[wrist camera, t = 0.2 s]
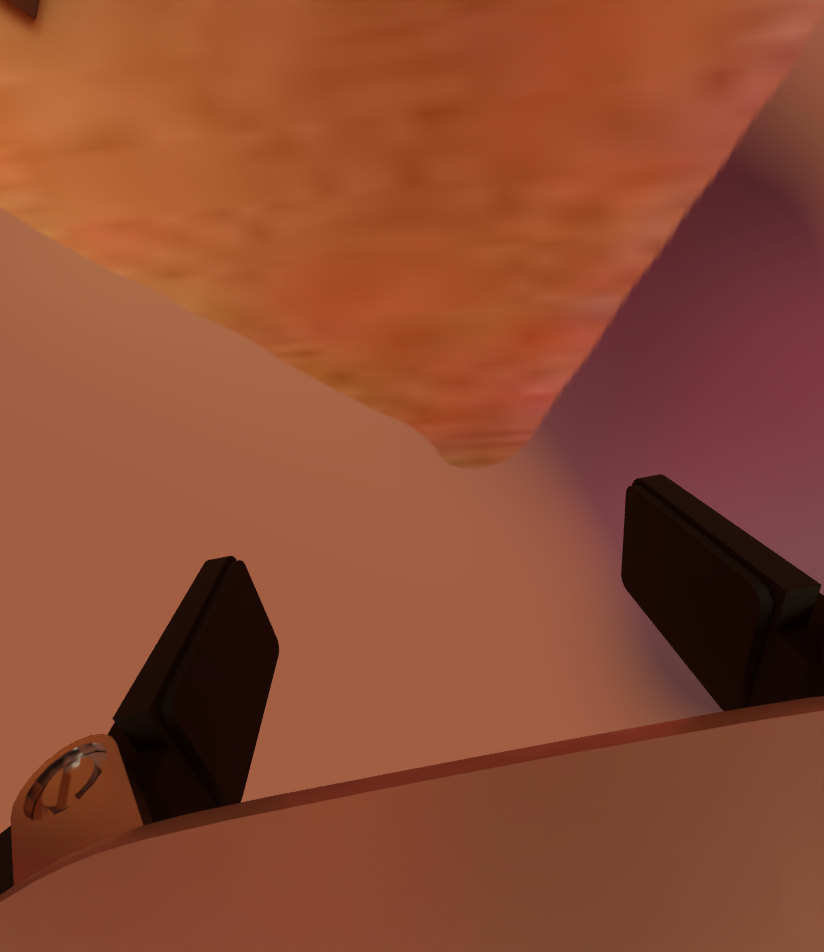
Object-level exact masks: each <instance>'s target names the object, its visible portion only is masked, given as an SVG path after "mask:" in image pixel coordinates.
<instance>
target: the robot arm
mask: <svg viewBox="0 0 824 952" xmlns="http://www.w3.org/2000/svg"><path fill="white" fill-rule="evenodd" d="M621 577H622V581H623V584H624V586H625V588H626V590H627V591H628V592H629V593H630V595H631V596H632V597H633V599H634V600H635V601H636V602H637V603H638V605H639V606H640V607H641V609H642V610H643V611H644V612H645V613H646V615H647V616H648V617H649V619H650V620H651V621H652V622H653V624H654V625H655V626H656V627H657V629H658V630H659V631H660V632H661V633H662V635H663V636H664V637H665V639H666V640H667V641H668V642H669V644H670V645H671V646H672V647H673V649H674V650H675V651H676V653H677V654H678V655H679V656H680V658H681V659H682V660H683V661H684V663H685V664H686V665H687V666H688V668H689V669H690V670H691V671H692V672H693V674H694V675H695V676H696V678H697V679H698V680H699V681H700V683H701V684H702V685H703V686H704V688H705V689H706V690H707V691H708V693H709V694H710V695H711V696H712V698H713V699H714V700H715V701H716V703H717V704H718V705H719V706H720V708H721V709H722V710H723V711H724V712H718V713H712V714H707V715H701V716H695V717H690V718H684V719H679V720H674V721H668V722H663V723H657V724H651V725H646V726H641V727H635V728H629V729H624V730H619V731H613V732H608V733H602V734H597V735H591V736H585V737H580V738H574V739H569V740H564V741H558V742H553V743H548V744H542V745H537V746H532V747H527V748H521V749H515V750H510V751H505V752H500V753H494V754H489V755H484V756H478V757H473V758H467V759H463V760H457V761H452V762H447V763H441V764H436V765H431V766H425V767H420V768H414V769H409V770H404V771H399V772H394V773H388V774H383V775H378V776H373V777H368V778H363V779H358V780H353V781H347V782H342V783H337V784H332V785H327V786H321V787H316V788H311V789H306V790H301V791H296V792H290V793H285V794H280V795H275V796H270V797H265V798H261V799H256V800H251V801H247V802H242V803H240V802H241V800H242V797H243V793H244V789H245V785H246V781H247V777H248V773H249V769H250V765H251V761H252V757H253V754H254V750H255V746H256V742H257V738H258V734H259V730H260V726H261V722H262V718H263V714H264V710H265V706H266V702H267V699H268V694H269V691H270V687H271V683H272V679H273V674H274V671H275V667H276V663H277V659H278V655H279V644H278V640H277V637H276V635H275V633H274V630H273V628H272V626H271V623H270V621H269V619H268V616H267V614H266V612H265V610H264V607H263V605H262V603H261V601H260V598H259V596H258V593H257V591H256V589H255V587H254V584H253V582H252V579H251V577H250V575H249V572H248V570H247V568H246V566H245V564H244V562H243V561H240V560H239V561H236V559H235V558H234V557H233V556H228V557H222V558H217V559H212V560H208V561H206V562H205V563H204V565H203V566H202V568H201V570H200V572H199V573H198V575H197V577H196V578H195V580H194V582H193V584H192V585H191V587H190V588H189V590H188V592H187V594H186V595H185V597H184V599H183V600H182V602H181V604H180V605H179V607H178V609H177V610H176V613H175V614H174V615H173V617H172V619H171V621H170V622H169V624H168V626H167V627H166V629H165V631H164V632H163V634H162V636H161V638H160V639H159V641H158V643H157V644H156V646H155V648H154V650H153V651H152V653H151V654H150V656H149V658H148V660H147V661H146V663H145V665H144V666H143V668H142V670H141V671H140V673H139V675H138V676H137V678H136V680H135V681H134V683H133V685H132V686H131V688H130V690H129V692H128V693H127V695H126V697H125V699H124V700H123V702H122V703H121V705H120V707H119V708H118V710H117V712H116V714H115V715H114V717H113V720H114V721H115V723H114V725H113V726H112V728H111V730H110V731H109V733H108V735H105V734H97V735H90V736H87V737H85V738H82V739H79V740H77V741H75V742H73V743H71V744H69V745H68V746H66V747H64V748H63V749H61V750H60V751H58V752H57V753H56V754H54V755H53V756H52V757H51V758H50V759H48V760H47V761H46V762H45V763H44V764H43V765H42V766H41V767H40V768H39V769H38V770H37V771H36V772H35V773H34V774H33V775H32V776H31V777H30V778H29V780H28V781H27V782H26V784H25V785H24V786H23V788H22V789H21V790H20V792H19V794H18V796H17V798H16V800H15V802H14V805H13V807H12V813H11V826H10V827H8V828H7V829H6V830H5V831H3V832H2V833H1V834H0V952H824V595H822V594H820V593H819V591H820V587H821V584H819V583H818V582H817V581H815V580H814V579H812V578H811V577H809V576H808V575H807V574H805V573H804V572H802V571H801V570H799V569H798V568H796V567H795V566H793V565H792V564H791V563H789V562H788V561H786V560H785V559H784V558H782V557H781V556H779V555H778V554H776V553H775V552H773V551H772V550H770V549H769V548H768V547H766V546H765V545H763V544H762V543H761V542H759V541H758V540H756V539H755V538H753V537H751V536H750V535H749V534H748V533H746V532H745V531H743V530H742V529H740V528H739V527H738V526H736V525H735V524H733V523H732V522H730V521H729V520H728V519H726V518H725V517H723V516H722V515H720V514H719V513H717V512H716V511H715V510H713V509H712V508H710V507H709V506H707V505H706V504H704V503H703V502H701V501H700V500H699V499H697V498H696V497H694V496H693V495H692V494H690V493H689V492H687V491H685V490H684V489H683V488H681V487H680V486H679V485H677V484H676V483H674V482H673V481H671V480H670V479H668V478H667V477H665V476H663V475H654V476H649V477H644V478H638V479H636V480H634V482H633V484H632V486H629V487H628V488H627V490H626V503H625V519H624V537H623V554H622V571H621Z"/></svg>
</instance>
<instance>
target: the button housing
mask: <svg viewBox="0 0 824 952" xmlns="http://www.w3.org/2000/svg"><path fill="white" fill-rule="evenodd" d="M8 1H9V2H11V3H12V4H14V5H15V6H17V7H18V8H20V9H21V10H23V11H24V12H26V13H27V14H29V15H30V16H32V17H33V18H34V19H35V17H36V12H37V7H38V2H39V0H8Z"/></svg>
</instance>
